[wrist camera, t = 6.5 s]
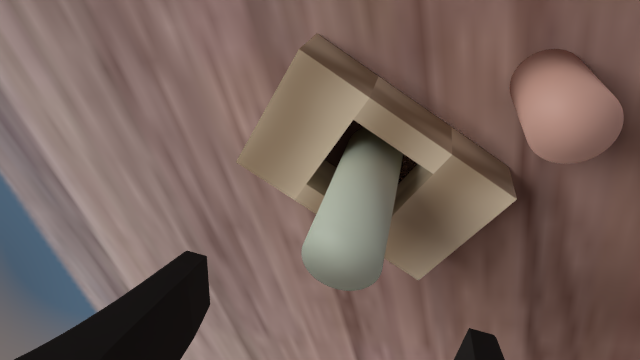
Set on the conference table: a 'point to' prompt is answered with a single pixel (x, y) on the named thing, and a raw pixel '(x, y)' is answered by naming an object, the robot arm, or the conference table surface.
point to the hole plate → (394, 128)
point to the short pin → (564, 107)
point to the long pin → (355, 215)
